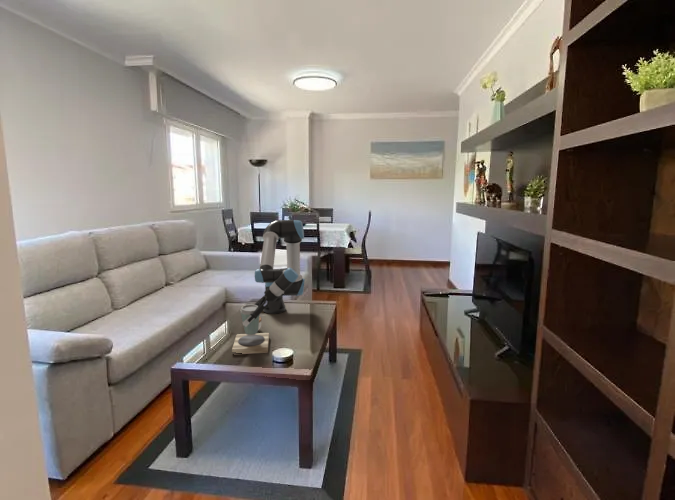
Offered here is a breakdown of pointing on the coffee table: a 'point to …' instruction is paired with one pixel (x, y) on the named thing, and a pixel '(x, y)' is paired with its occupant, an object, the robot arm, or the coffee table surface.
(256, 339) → the birch riser
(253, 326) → the disposable coffee cup
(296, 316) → the coffee table surface
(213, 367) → the coffee table surface
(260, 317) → the lidded jar
